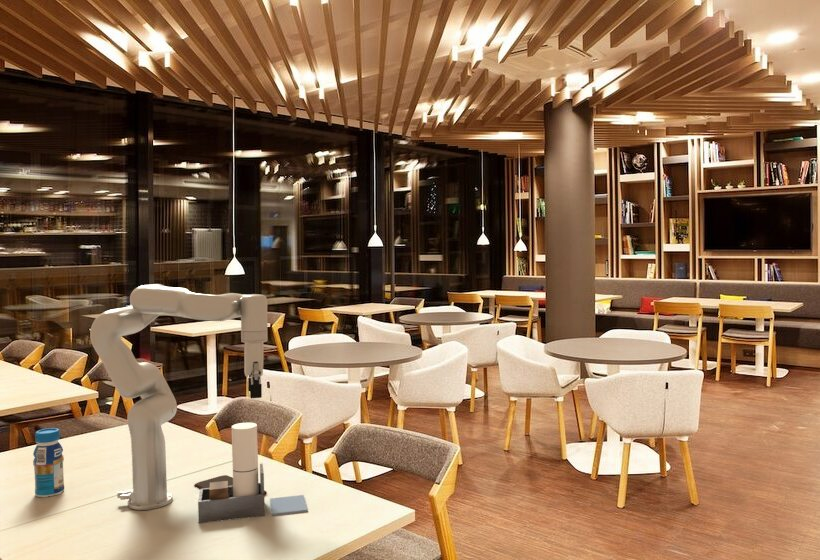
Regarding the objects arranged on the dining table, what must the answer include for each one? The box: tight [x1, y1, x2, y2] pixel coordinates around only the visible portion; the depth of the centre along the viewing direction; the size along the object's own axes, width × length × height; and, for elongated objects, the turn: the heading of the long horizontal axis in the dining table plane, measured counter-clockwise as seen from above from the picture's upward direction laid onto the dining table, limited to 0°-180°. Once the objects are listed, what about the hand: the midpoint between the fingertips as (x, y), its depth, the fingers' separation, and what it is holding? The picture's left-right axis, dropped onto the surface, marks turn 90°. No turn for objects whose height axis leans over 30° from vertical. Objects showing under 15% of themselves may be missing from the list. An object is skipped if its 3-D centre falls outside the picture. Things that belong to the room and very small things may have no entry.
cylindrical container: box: [231, 422, 259, 497], centre depth 190 cm, size 7×7×25 cm
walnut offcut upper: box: [209, 481, 228, 500], centre depth 188 cm, size 5×6×4 cm
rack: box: [197, 463, 266, 524], centre depth 189 cm, size 18×11×12 cm, turn 105°
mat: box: [269, 494, 308, 516], centre depth 194 cm, size 10×12×1 cm
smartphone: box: [193, 474, 267, 496], centre depth 208 cm, size 12×2×25 cm
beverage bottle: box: [32, 427, 65, 498], centre depth 207 cm, size 8×8×20 cm
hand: (254, 394), depth 193 cm, fingers open, 9 cm apart
